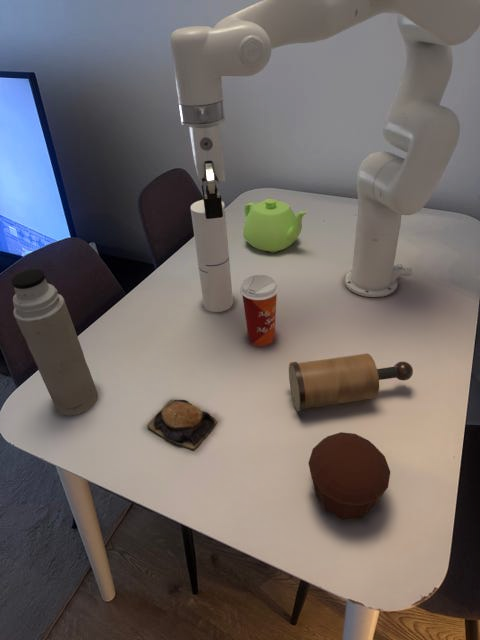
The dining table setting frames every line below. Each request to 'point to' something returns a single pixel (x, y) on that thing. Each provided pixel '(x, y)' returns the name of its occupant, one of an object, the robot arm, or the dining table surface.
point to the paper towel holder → (340, 380)
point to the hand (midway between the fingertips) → (212, 207)
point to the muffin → (348, 475)
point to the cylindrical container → (212, 258)
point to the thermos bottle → (53, 342)
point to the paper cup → (260, 308)
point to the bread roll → (182, 423)
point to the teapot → (271, 225)
